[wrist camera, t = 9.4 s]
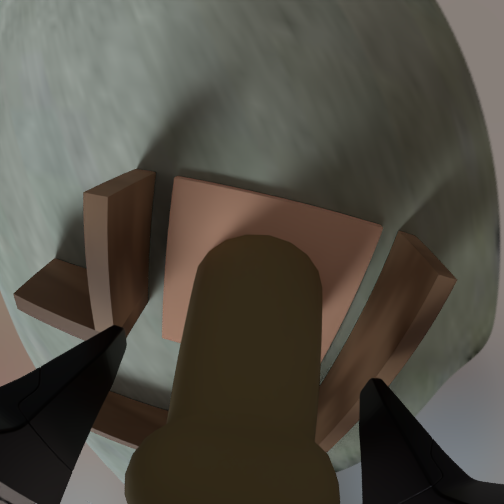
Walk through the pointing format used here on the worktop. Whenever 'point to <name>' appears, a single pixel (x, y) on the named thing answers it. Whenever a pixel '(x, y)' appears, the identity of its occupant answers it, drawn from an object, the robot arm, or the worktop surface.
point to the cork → (243, 387)
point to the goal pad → (262, 223)
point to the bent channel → (136, 298)
